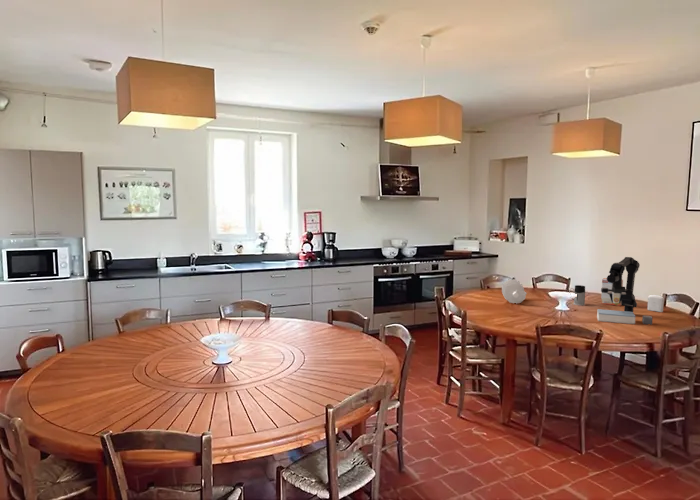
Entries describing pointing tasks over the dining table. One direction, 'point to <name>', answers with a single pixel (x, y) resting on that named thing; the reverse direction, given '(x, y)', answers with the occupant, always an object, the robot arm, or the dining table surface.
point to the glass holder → (579, 295)
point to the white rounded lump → (513, 291)
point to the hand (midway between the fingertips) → (615, 303)
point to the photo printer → (655, 303)
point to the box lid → (616, 313)
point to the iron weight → (647, 320)
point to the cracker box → (606, 297)
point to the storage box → (615, 319)
